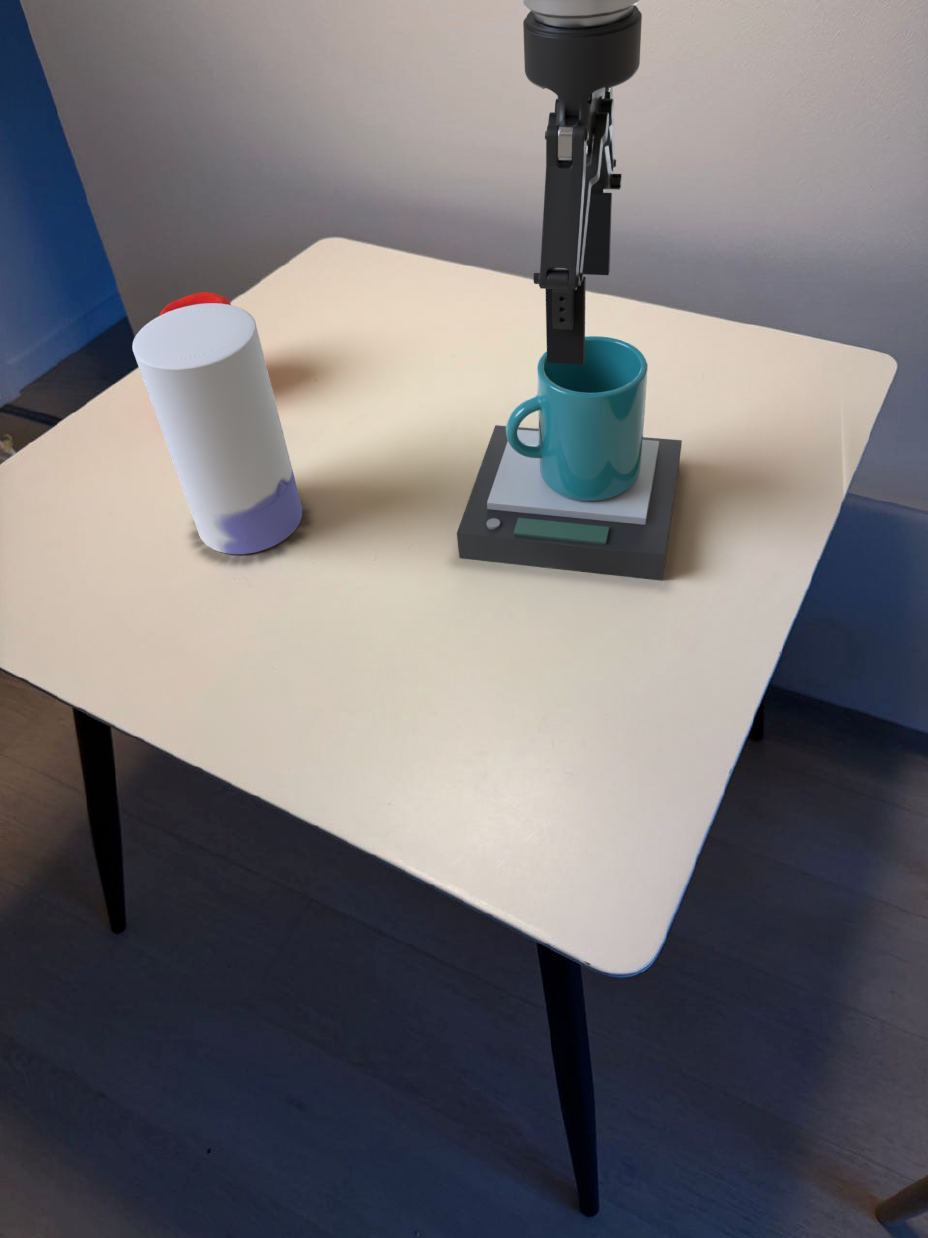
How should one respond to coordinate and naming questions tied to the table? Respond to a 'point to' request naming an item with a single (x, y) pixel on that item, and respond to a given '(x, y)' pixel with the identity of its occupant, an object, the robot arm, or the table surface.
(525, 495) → the scale
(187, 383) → the container
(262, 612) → the table surface
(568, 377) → the cup
